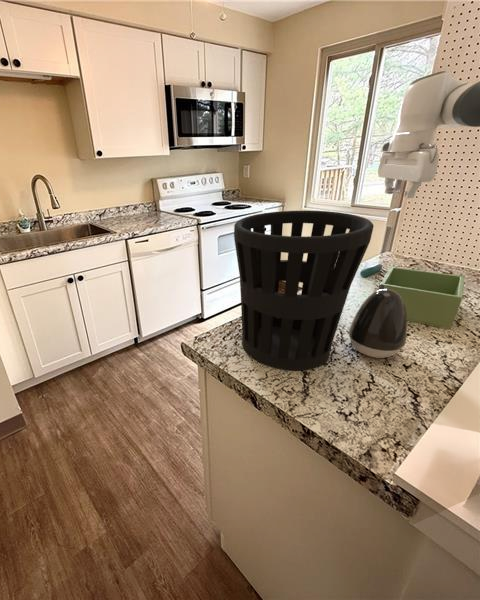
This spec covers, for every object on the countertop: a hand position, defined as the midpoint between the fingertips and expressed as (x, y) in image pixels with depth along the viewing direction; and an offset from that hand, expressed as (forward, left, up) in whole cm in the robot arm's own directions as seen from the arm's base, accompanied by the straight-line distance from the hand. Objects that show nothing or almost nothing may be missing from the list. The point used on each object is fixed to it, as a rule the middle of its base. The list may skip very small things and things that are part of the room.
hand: (398, 195), depth 92 cm
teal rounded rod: (-3, -5, -27) cm, 28 cm away
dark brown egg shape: (+36, +29, -27) cm, 54 cm away
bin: (+10, +19, -27) cm, 35 cm away
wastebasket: (+52, +19, -27) cm, 62 cm away
